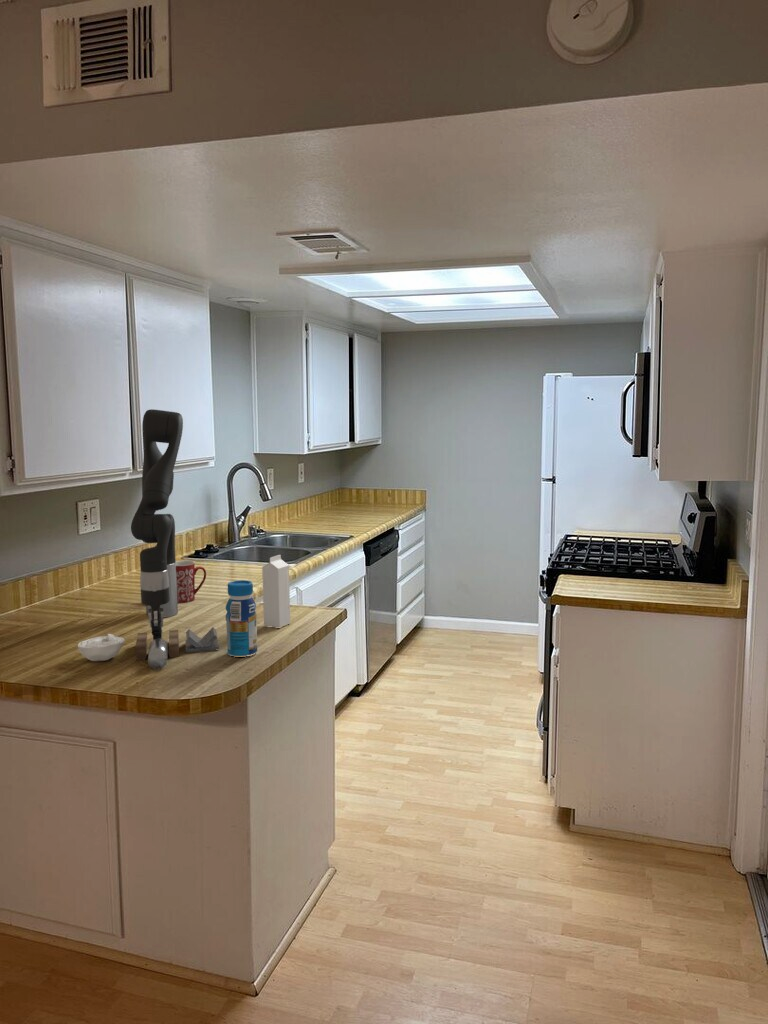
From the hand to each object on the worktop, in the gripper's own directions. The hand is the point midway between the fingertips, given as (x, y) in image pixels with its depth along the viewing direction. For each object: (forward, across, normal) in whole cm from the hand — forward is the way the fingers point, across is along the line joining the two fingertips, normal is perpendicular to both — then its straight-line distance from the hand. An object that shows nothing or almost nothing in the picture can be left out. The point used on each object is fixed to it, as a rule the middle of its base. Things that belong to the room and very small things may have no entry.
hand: (157, 647), depth 211 cm
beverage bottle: (+2, +8, +22) cm, 24 cm away
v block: (+2, -2, +12) cm, 12 cm away
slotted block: (+2, -2, 0) cm, 2 cm away
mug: (+2, -59, +9) cm, 59 cm away
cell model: (+2, +2, -14) cm, 15 cm away
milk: (+2, -17, +35) cm, 39 cm away
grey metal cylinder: (+2, +8, 0) cm, 9 cm away
